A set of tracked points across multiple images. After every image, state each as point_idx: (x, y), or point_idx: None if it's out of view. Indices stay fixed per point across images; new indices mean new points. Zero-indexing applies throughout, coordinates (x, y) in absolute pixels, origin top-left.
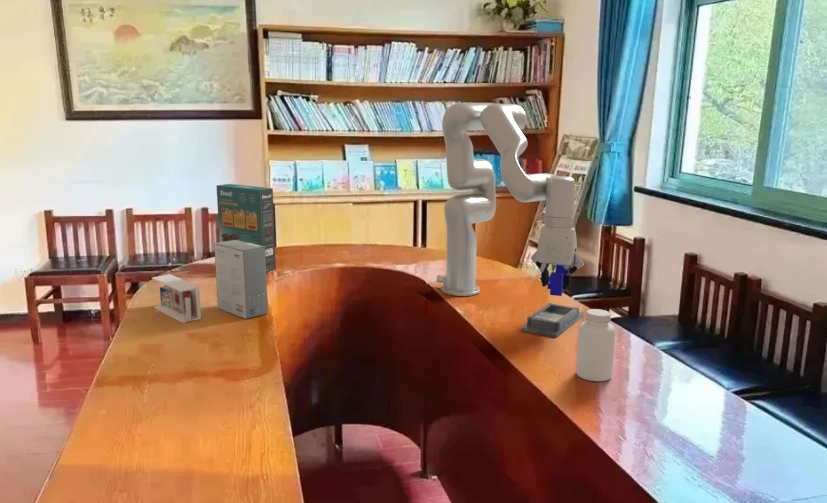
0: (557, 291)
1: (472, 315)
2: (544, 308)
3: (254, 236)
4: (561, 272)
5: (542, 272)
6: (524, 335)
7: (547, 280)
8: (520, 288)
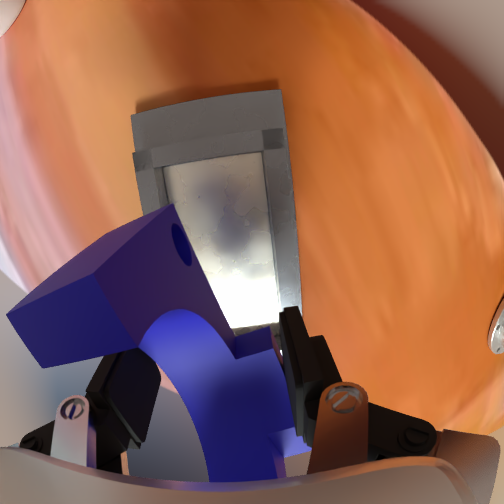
0: (114, 232)
1: (468, 155)
2: (287, 297)
3: None
4: (235, 466)
5: (333, 390)
6: (240, 59)
7: (286, 371)
8: (415, 415)
